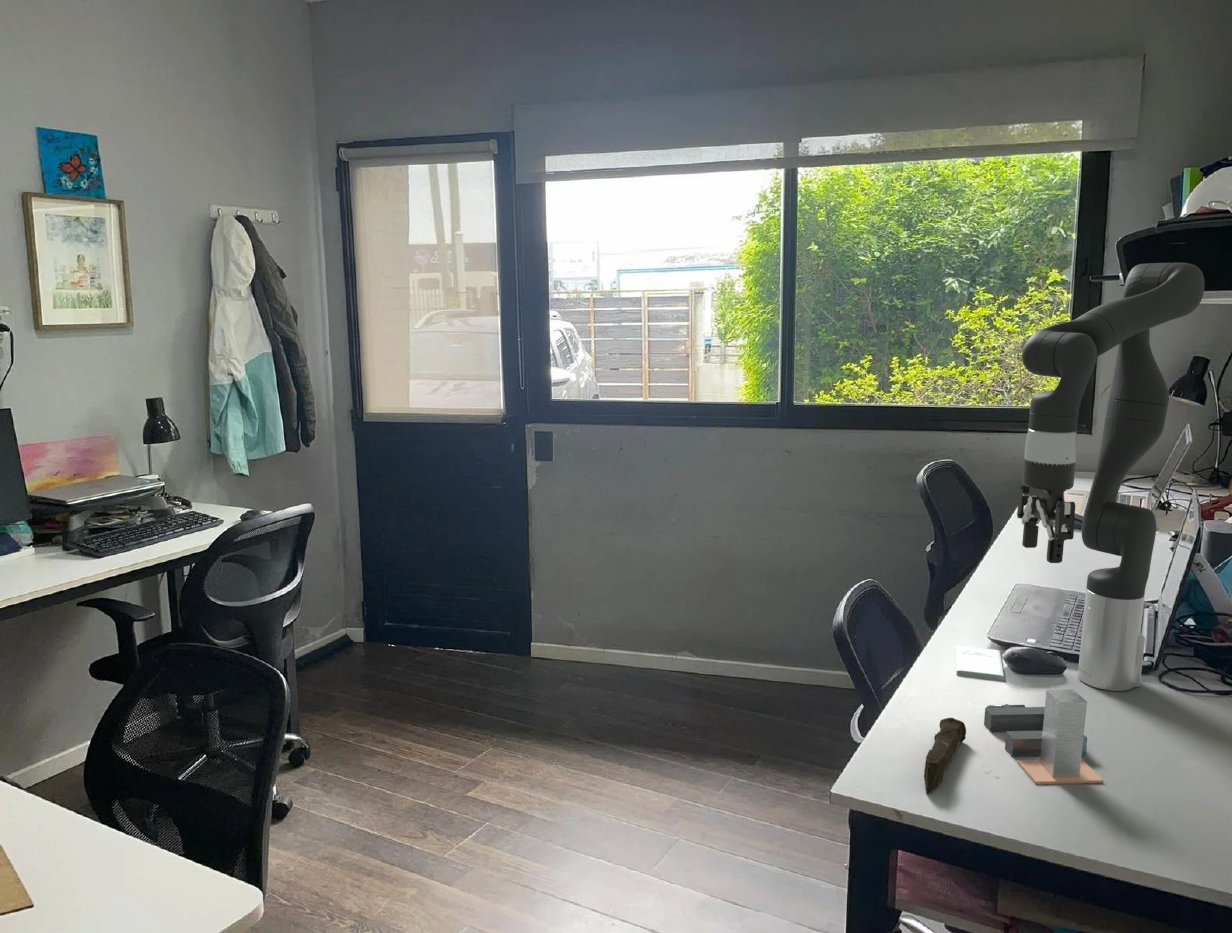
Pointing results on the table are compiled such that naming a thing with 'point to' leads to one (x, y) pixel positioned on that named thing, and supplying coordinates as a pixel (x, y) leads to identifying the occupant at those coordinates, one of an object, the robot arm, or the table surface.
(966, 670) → the external hard drive
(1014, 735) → the vise
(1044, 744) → the steel bar
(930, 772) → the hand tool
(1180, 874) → the table surface
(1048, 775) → the mat
